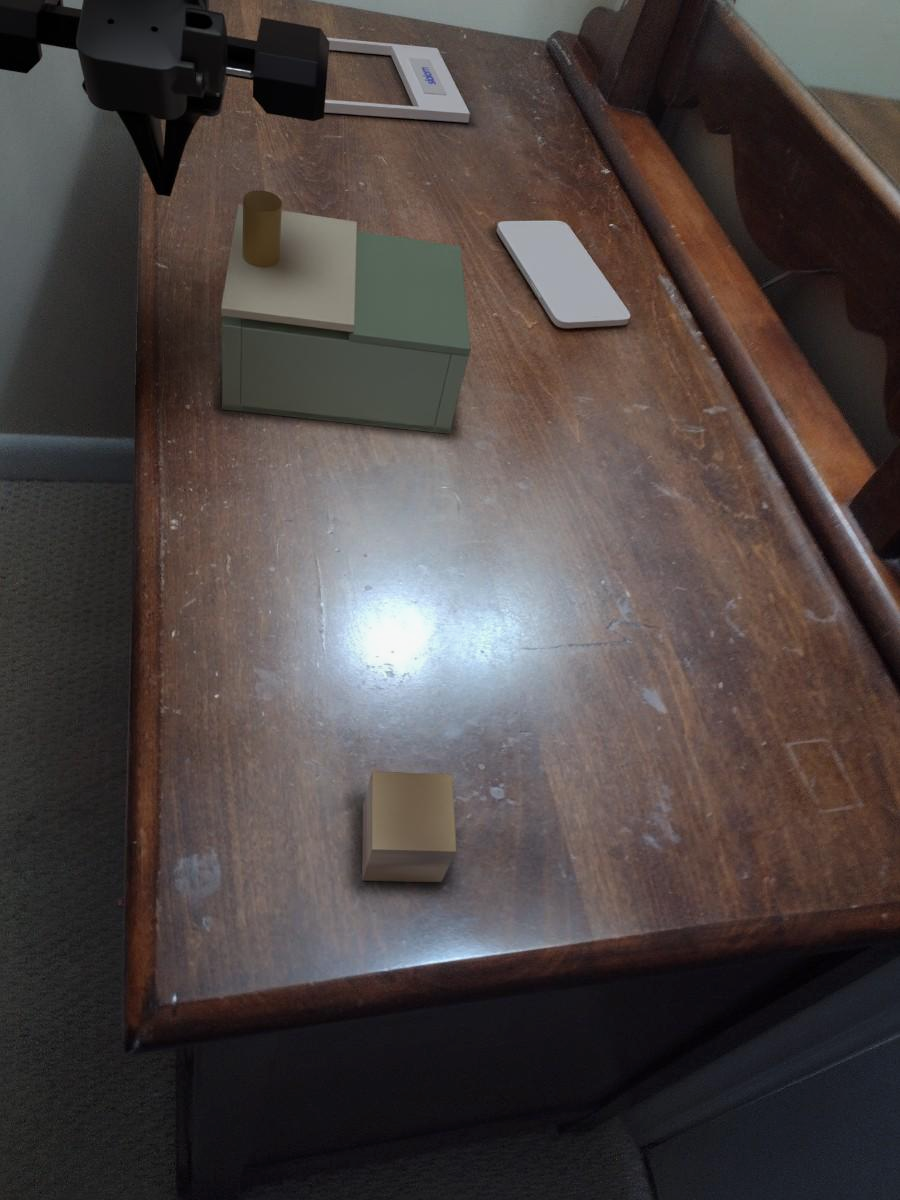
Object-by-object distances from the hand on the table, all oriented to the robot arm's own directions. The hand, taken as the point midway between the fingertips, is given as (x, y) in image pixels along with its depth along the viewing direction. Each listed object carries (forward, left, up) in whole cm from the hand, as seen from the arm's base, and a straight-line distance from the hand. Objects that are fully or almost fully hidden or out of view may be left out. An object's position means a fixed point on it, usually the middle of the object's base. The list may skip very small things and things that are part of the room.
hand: (164, 192), depth 57 cm
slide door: (+8, 0, -4) cm, 9 cm away
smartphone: (+31, +16, -12) cm, 37 cm away
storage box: (+12, 0, -12) cm, 17 cm away
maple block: (+16, -37, -12) cm, 42 cm away
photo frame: (+14, +47, -12) cm, 51 cm away
